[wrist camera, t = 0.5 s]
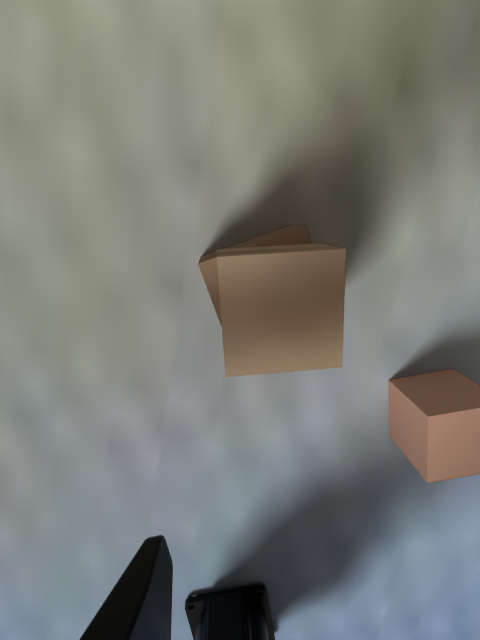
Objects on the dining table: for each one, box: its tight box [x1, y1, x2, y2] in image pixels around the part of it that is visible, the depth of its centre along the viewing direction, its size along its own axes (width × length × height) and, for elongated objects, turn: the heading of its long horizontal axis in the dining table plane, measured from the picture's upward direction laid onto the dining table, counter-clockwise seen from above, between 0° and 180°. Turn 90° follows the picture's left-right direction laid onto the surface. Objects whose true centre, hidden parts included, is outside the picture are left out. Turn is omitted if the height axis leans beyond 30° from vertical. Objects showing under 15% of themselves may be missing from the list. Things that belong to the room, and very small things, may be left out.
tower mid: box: [216, 243, 346, 377], centre depth 15 cm, size 5×5×4 cm
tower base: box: [198, 225, 311, 326], centre depth 19 cm, size 6×6×4 cm
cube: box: [389, 369, 480, 483], centre depth 21 cm, size 4×4×4 cm
